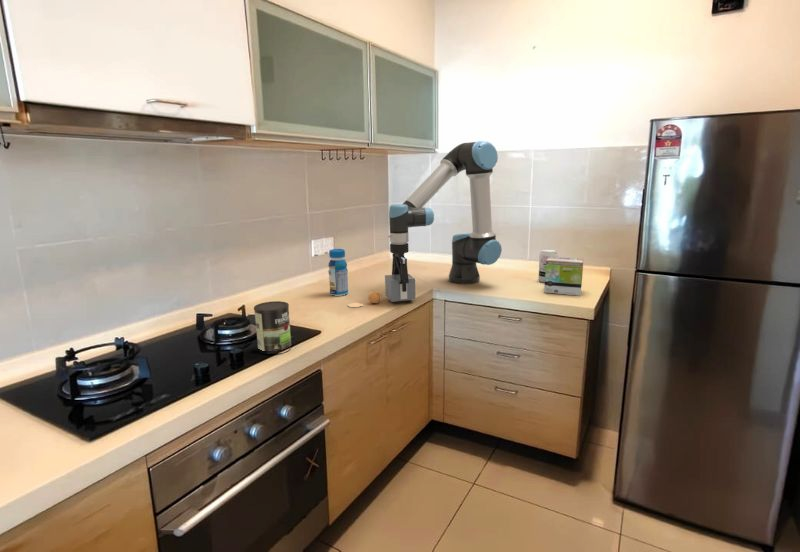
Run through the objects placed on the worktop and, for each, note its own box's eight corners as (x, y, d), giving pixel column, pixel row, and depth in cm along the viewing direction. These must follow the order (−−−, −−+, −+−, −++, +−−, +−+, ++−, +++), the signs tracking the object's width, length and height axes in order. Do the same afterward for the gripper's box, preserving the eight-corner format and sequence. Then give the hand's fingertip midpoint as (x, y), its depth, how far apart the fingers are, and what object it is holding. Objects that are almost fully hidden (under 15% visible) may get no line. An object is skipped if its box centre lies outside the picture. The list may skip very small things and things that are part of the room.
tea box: (543, 293, 200) (545, 260, 197) (545, 288, 209) (547, 255, 206) (581, 296, 194) (583, 261, 191) (581, 290, 204) (583, 257, 200)
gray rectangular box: (385, 295, 196) (384, 275, 195) (408, 293, 199) (408, 273, 197) (391, 301, 187) (390, 280, 185) (415, 299, 189) (415, 278, 187)
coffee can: (298, 345, 146) (295, 302, 143) (277, 357, 137) (273, 312, 134) (273, 341, 151) (269, 299, 148) (250, 352, 142) (246, 308, 138)
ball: (367, 302, 192) (367, 290, 191) (379, 301, 194) (379, 289, 192) (370, 305, 188) (369, 293, 187) (382, 304, 189) (381, 292, 188)
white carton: (554, 279, 224) (555, 249, 221) (558, 283, 216) (559, 252, 213) (537, 279, 225) (538, 249, 221) (540, 283, 217) (541, 252, 213)
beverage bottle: (345, 296, 202) (343, 251, 197) (327, 296, 203) (324, 251, 199) (351, 291, 210) (349, 248, 205) (333, 291, 211) (330, 248, 207)
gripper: (383, 239, 198) (385, 289, 203) (397, 247, 176) (398, 303, 181) (400, 238, 200) (401, 288, 204) (416, 246, 178) (416, 301, 183)
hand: (400, 295), depth 193 cm, fingers closed on gray rectangular box, 10 cm apart
